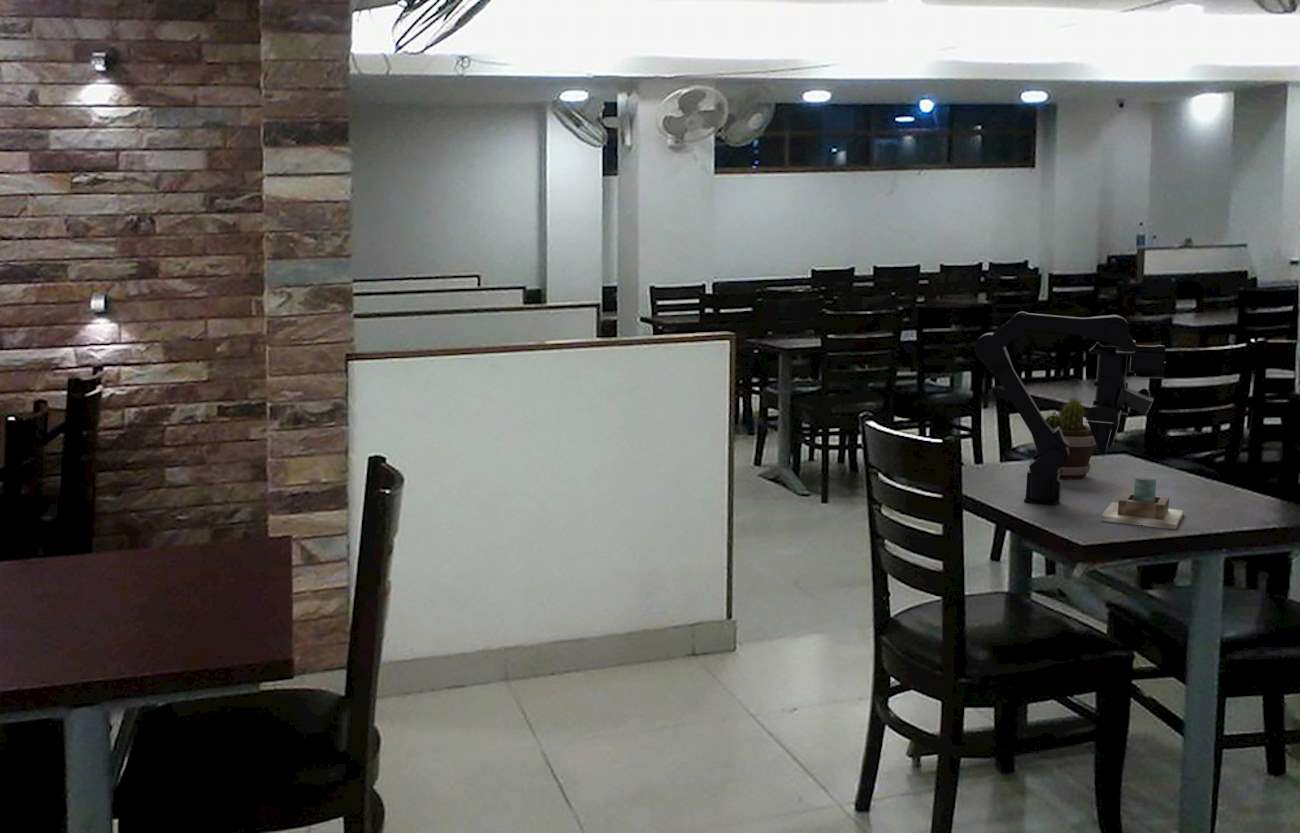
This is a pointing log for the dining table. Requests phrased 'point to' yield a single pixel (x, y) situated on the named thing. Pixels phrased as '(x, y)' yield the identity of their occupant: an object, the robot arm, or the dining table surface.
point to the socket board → (1143, 512)
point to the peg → (1144, 489)
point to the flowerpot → (1074, 439)
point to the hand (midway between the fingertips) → (1105, 449)
